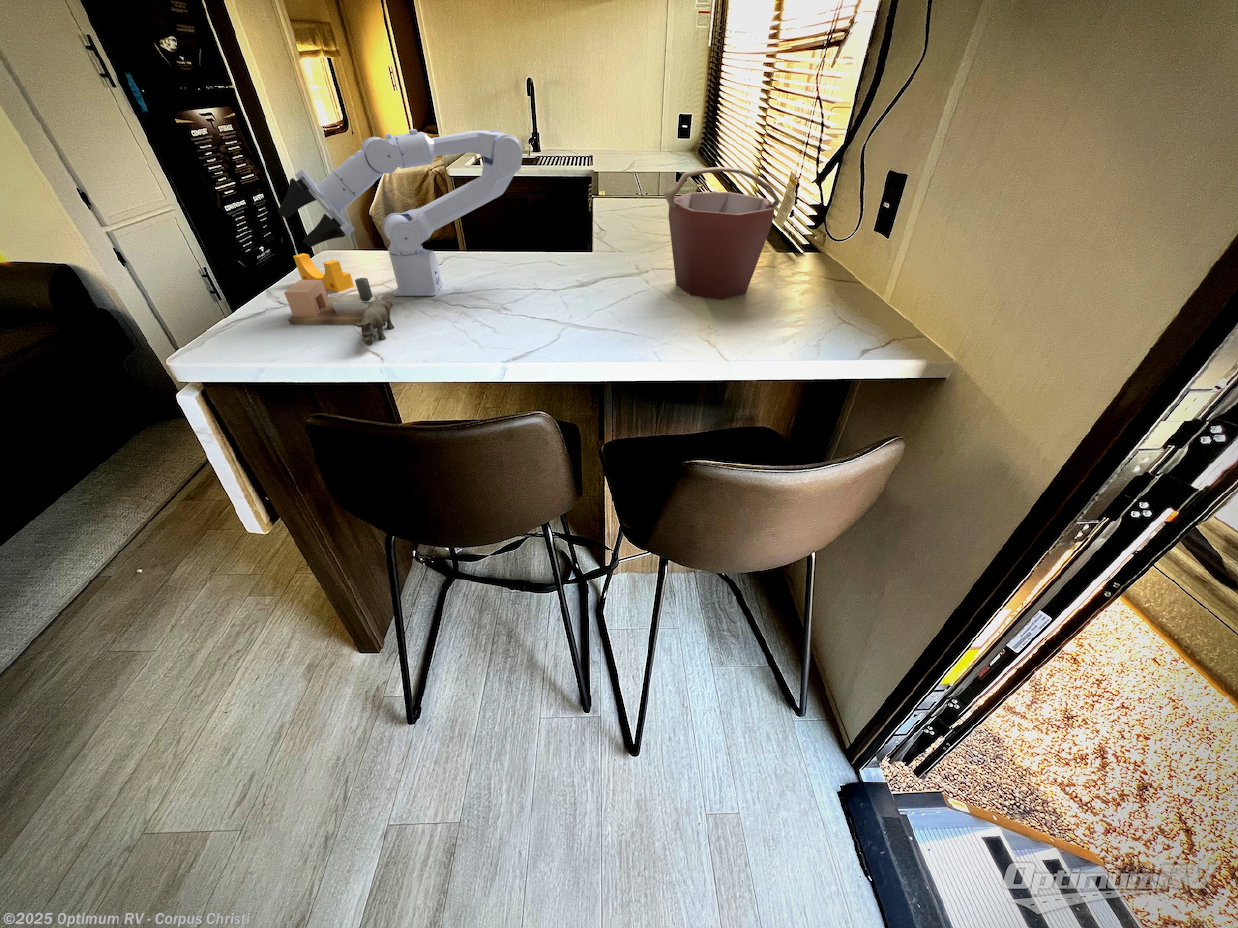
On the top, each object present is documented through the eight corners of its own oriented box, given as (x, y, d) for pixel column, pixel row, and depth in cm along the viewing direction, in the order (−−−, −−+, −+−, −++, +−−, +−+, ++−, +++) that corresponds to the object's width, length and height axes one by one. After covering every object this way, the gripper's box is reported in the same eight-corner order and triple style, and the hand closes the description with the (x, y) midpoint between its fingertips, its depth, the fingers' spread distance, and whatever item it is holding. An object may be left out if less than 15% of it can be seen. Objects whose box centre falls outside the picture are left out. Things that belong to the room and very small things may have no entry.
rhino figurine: (354, 354, 94) (344, 323, 90) (377, 323, 104) (369, 294, 101) (377, 354, 94) (367, 322, 90) (398, 323, 105) (390, 294, 101)
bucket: (650, 295, 119) (657, 173, 103) (671, 266, 135) (680, 157, 120) (758, 308, 113) (782, 181, 98) (766, 276, 130) (787, 164, 114)
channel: (386, 305, 109) (383, 295, 108) (379, 313, 105) (376, 303, 104) (344, 305, 109) (341, 295, 107) (336, 314, 105) (332, 303, 104)
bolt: (378, 306, 108) (370, 277, 104) (374, 310, 106) (366, 282, 102) (334, 306, 108) (325, 277, 104) (330, 310, 106) (320, 282, 102)
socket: (330, 303, 109) (321, 280, 106) (316, 316, 104) (307, 292, 101) (308, 303, 109) (299, 280, 106) (293, 316, 104) (284, 292, 101)
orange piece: (354, 287, 120) (345, 259, 116) (338, 293, 117) (329, 264, 113) (319, 278, 125) (309, 251, 121) (303, 284, 122) (293, 256, 118)
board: (392, 305, 112) (391, 300, 111) (377, 323, 104) (376, 319, 103) (310, 305, 111) (309, 300, 110) (289, 324, 103) (287, 319, 103)
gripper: (309, 144, 98) (255, 191, 98) (359, 202, 98) (305, 249, 98) (330, 166, 105) (280, 209, 105) (376, 220, 105) (326, 263, 105)
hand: (293, 229), depth 102 cm, fingers open, 7 cm apart
